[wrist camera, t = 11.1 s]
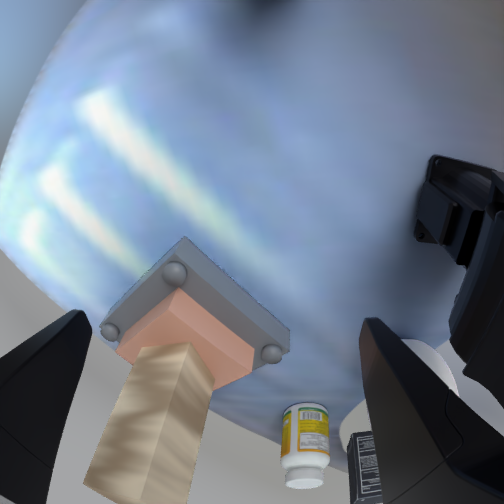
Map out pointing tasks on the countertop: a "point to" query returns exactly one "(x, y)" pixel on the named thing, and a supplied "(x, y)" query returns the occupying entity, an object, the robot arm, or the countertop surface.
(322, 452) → the supplement bottle
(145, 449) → the tall oak brick
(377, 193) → the countertop surface
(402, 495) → the robot arm
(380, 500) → the small box
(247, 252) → the countertop surface
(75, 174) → the countertop surface
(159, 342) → the studded grey base plate
